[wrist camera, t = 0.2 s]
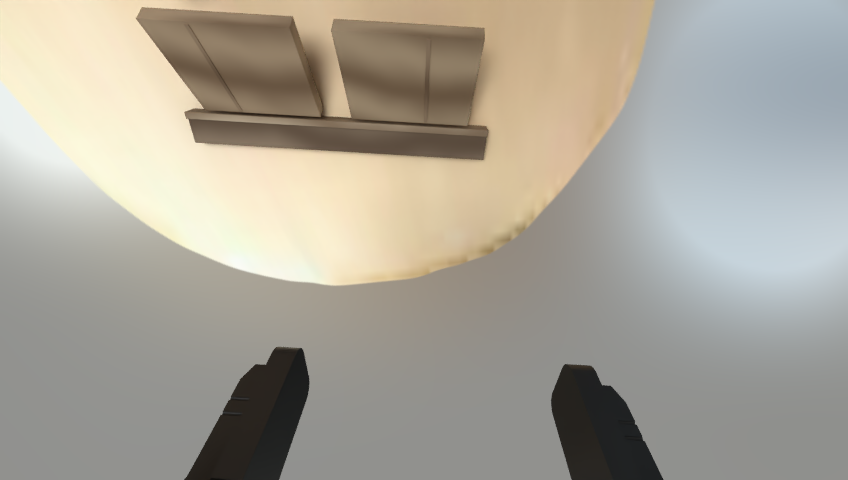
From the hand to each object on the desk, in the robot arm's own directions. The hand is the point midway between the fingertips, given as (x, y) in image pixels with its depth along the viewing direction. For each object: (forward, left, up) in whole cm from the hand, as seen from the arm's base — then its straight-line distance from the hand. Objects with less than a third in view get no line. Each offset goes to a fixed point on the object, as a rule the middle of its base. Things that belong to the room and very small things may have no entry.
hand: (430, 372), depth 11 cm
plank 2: (-5, -3, -25) cm, 26 cm away
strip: (+1, -10, -28) cm, 30 cm away
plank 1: (-5, -16, -25) cm, 31 cm away
